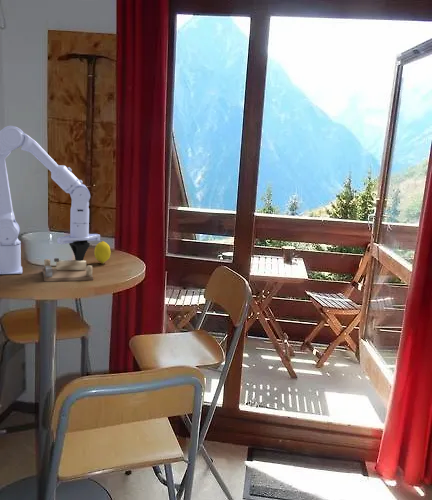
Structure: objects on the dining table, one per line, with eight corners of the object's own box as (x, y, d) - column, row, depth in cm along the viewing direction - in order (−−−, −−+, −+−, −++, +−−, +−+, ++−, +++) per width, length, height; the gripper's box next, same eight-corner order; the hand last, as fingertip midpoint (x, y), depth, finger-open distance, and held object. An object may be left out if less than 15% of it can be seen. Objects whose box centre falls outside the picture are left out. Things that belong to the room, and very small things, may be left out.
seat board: (44, 281, 143) (44, 268, 142) (42, 271, 154) (42, 259, 153) (93, 279, 148) (93, 267, 148) (88, 270, 159) (88, 258, 159)
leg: (54, 269, 152) (54, 259, 152) (54, 267, 155) (54, 257, 154) (86, 269, 155) (86, 259, 154) (85, 267, 157) (86, 258, 157)
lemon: (106, 266, 167) (106, 243, 165) (91, 264, 168) (91, 241, 166) (112, 262, 172) (113, 240, 170) (98, 261, 173) (98, 238, 171)
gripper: (91, 219, 163) (91, 258, 166) (52, 222, 152) (52, 264, 155) (104, 222, 158) (103, 263, 161) (64, 225, 148) (64, 268, 150)
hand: (79, 263), depth 158 cm, fingers closed, pressing on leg
